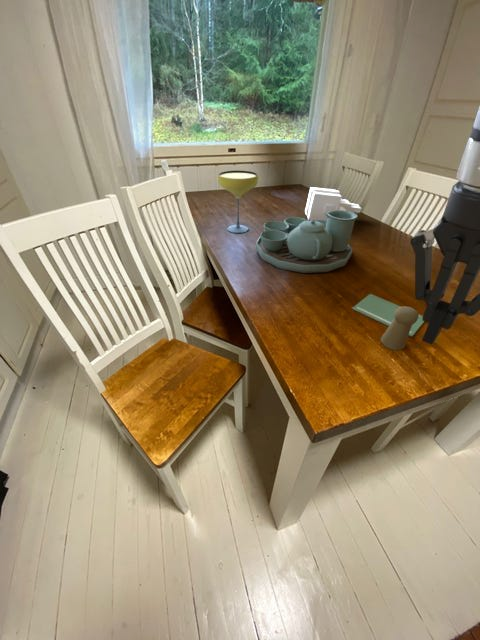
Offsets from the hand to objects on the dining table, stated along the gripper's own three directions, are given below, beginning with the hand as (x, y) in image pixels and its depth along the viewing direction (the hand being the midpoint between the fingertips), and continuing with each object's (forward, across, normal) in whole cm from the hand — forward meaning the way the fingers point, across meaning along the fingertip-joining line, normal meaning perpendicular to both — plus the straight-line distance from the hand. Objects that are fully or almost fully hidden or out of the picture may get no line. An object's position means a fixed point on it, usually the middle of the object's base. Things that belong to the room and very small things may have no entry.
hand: (430, 337), depth 44 cm
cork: (+24, -10, +19) cm, 32 cm away
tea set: (+24, -61, +47) cm, 80 cm away
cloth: (+25, -16, +31) cm, 43 cm away
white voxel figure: (+30, -76, +95) cm, 126 cm away
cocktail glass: (+21, -98, +46) cm, 111 cm away
